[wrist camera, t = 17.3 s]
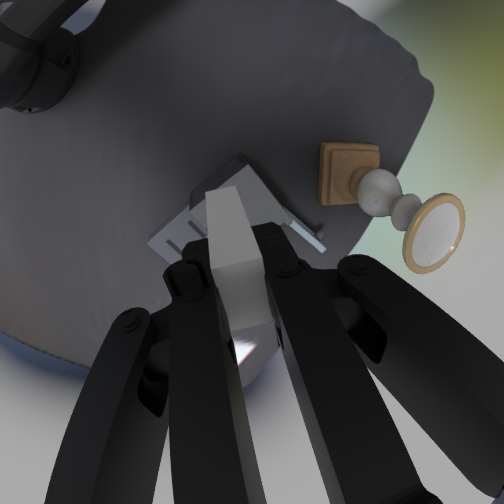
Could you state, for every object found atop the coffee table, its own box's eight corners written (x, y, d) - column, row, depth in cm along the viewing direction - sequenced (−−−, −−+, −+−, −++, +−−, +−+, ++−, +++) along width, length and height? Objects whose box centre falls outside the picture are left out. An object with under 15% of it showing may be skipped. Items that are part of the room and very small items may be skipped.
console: (148, 237, 45) (146, 243, 44) (191, 199, 43) (191, 204, 41) (228, 306, 57) (229, 313, 55) (268, 279, 55) (270, 285, 53)
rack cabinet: (190, 192, 43) (188, 211, 36) (240, 152, 41) (248, 164, 34) (229, 233, 48) (235, 258, 41) (276, 198, 46) (290, 217, 39)
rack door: (310, 236, 50) (323, 255, 45) (272, 205, 46) (283, 222, 40) (320, 226, 50) (334, 244, 44) (283, 193, 45) (295, 209, 40)
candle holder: (374, 143, 43) (476, 192, 23) (368, 199, 49) (452, 269, 29) (319, 141, 42) (416, 191, 22) (316, 202, 47) (392, 285, 27)
